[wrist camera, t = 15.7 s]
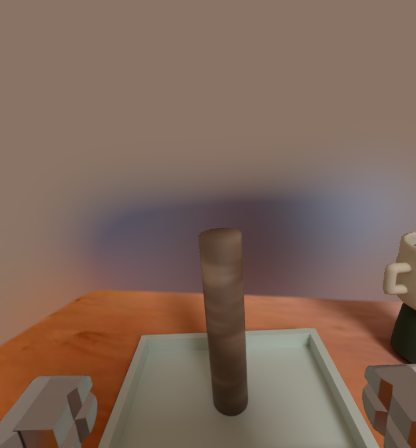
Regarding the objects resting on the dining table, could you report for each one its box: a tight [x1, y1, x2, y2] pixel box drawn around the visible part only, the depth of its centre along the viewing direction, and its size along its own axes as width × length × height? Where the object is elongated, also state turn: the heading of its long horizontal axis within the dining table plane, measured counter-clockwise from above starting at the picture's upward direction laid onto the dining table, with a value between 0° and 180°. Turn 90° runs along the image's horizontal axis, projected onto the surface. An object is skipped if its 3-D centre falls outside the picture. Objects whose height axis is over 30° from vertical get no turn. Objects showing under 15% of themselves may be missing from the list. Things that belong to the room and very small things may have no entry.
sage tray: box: [98, 328, 379, 448], centre depth 24 cm, size 20×14×2 cm
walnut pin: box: [198, 228, 248, 416], centre depth 22 cm, size 3×3×16 cm
